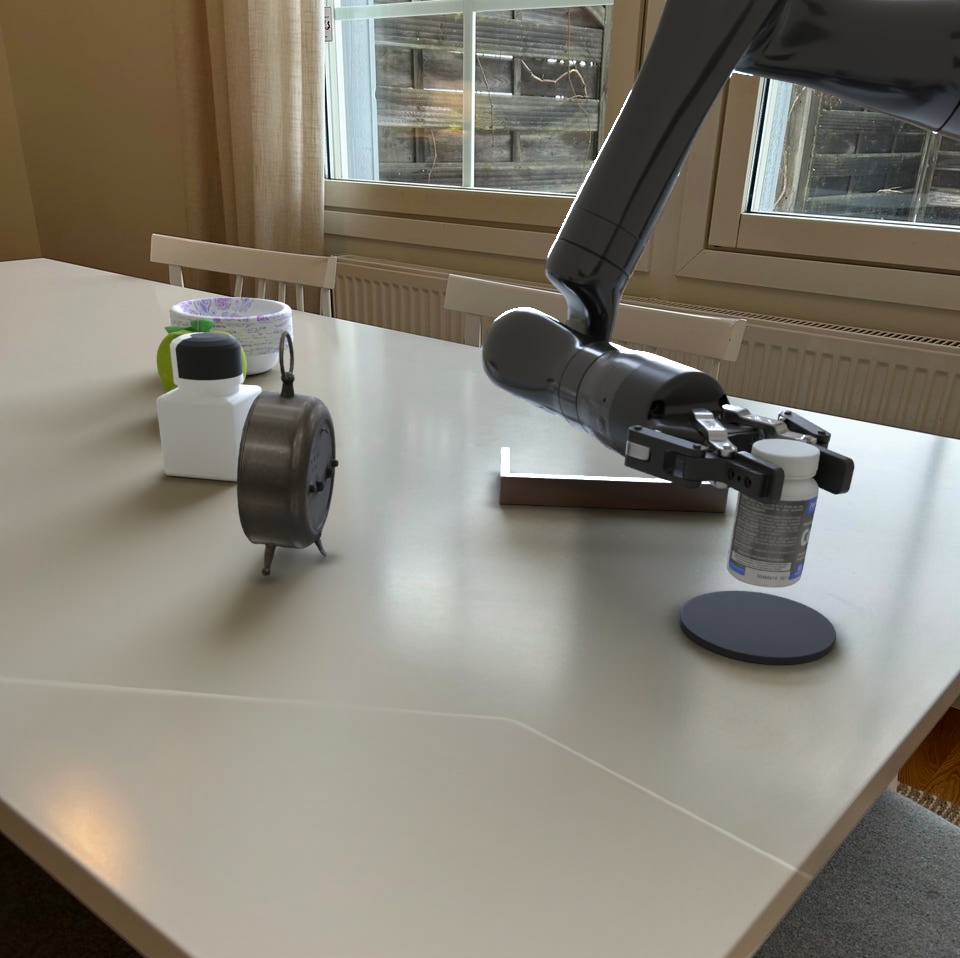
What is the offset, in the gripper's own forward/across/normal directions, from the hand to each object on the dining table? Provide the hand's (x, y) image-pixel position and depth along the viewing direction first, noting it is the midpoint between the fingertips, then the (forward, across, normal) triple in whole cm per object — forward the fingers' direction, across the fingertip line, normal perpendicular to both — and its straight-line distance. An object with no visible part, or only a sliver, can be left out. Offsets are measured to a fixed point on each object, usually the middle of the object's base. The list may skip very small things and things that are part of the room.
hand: (812, 482), depth 58 cm
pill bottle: (-3, 0, +7) cm, 8 cm away
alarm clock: (-25, -24, +11) cm, 37 cm away
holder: (-30, +6, +11) cm, 33 cm away
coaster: (-2, 0, +11) cm, 11 cm away
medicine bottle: (-49, -25, +12) cm, 56 cm away
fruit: (-69, -22, +12) cm, 73 cm away
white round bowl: (-90, -14, +12) cm, 92 cm away
